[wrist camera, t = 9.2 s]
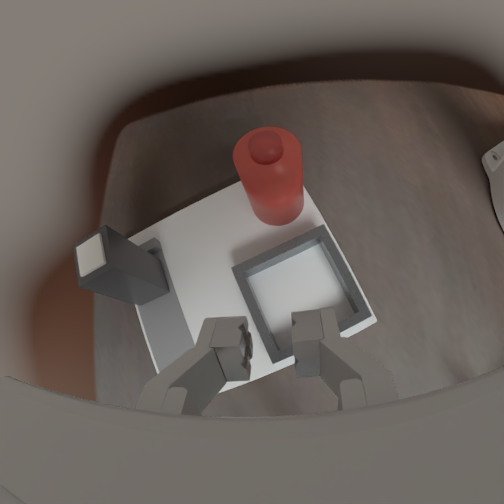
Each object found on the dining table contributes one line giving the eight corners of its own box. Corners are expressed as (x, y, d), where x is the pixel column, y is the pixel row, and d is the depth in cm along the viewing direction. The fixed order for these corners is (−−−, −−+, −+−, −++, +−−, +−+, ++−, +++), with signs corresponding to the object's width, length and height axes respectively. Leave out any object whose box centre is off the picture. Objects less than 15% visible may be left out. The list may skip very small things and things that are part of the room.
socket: (322, 232, 26) (323, 223, 24) (366, 318, 23) (372, 315, 21) (236, 273, 26) (230, 267, 24) (275, 362, 23) (272, 364, 21)
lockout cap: (280, 171, 29) (268, 108, 20) (314, 203, 27) (316, 143, 18) (241, 200, 28) (216, 144, 20) (274, 236, 26) (259, 186, 18)
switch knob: (159, 259, 28) (103, 223, 19) (170, 292, 26) (111, 266, 18) (131, 274, 28) (70, 244, 19) (140, 305, 26) (76, 286, 18)
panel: (288, 166, 30) (286, 153, 28) (374, 322, 24) (380, 320, 21) (125, 246, 31) (113, 239, 28) (176, 406, 24) (165, 410, 22)
